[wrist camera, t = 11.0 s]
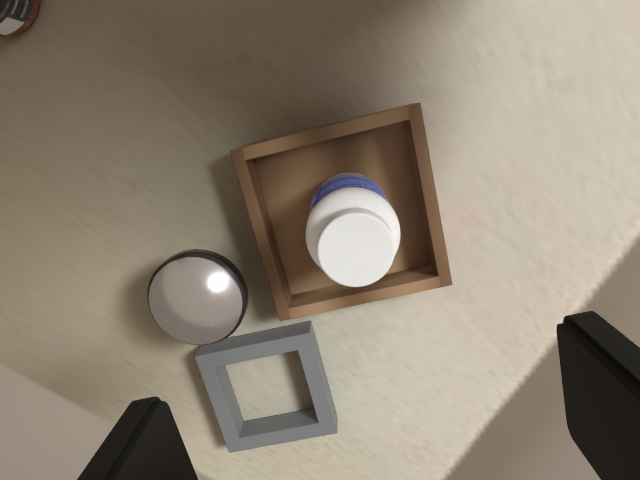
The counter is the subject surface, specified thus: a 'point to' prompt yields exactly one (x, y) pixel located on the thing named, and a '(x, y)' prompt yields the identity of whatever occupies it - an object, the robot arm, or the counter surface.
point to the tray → (305, 178)
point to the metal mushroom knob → (198, 297)
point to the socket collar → (278, 426)
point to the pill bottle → (352, 230)
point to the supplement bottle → (17, 16)
